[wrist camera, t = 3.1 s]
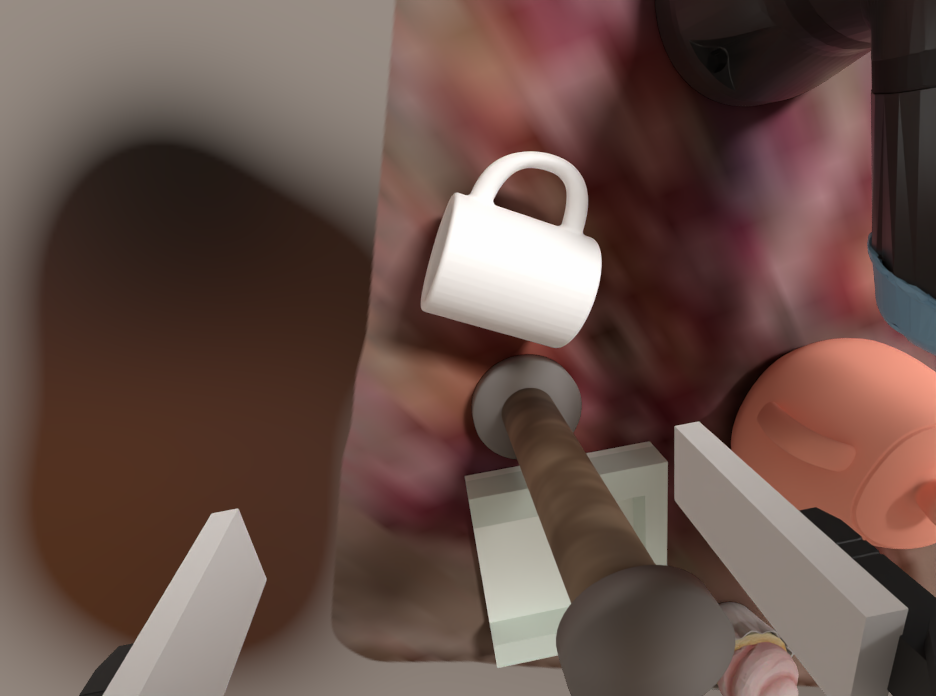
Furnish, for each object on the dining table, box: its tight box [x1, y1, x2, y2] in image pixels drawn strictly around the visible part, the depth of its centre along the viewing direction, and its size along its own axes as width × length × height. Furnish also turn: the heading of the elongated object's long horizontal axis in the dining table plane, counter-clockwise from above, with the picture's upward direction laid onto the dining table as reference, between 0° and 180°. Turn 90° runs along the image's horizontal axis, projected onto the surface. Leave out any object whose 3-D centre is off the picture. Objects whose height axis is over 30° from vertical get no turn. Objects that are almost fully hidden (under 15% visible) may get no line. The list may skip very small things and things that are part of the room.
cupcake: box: [711, 602, 799, 696], centre depth 48 cm, size 9×9×10 cm
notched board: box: [465, 441, 668, 668], centre depth 45 cm, size 17×20×3 cm
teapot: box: [731, 338, 936, 549], centre depth 39 cm, size 25×17×13 cm
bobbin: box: [471, 354, 735, 696], centre depth 30 cm, size 9×9×23 cm
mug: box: [421, 151, 602, 348], centre depth 32 cm, size 12×10×8 cm
